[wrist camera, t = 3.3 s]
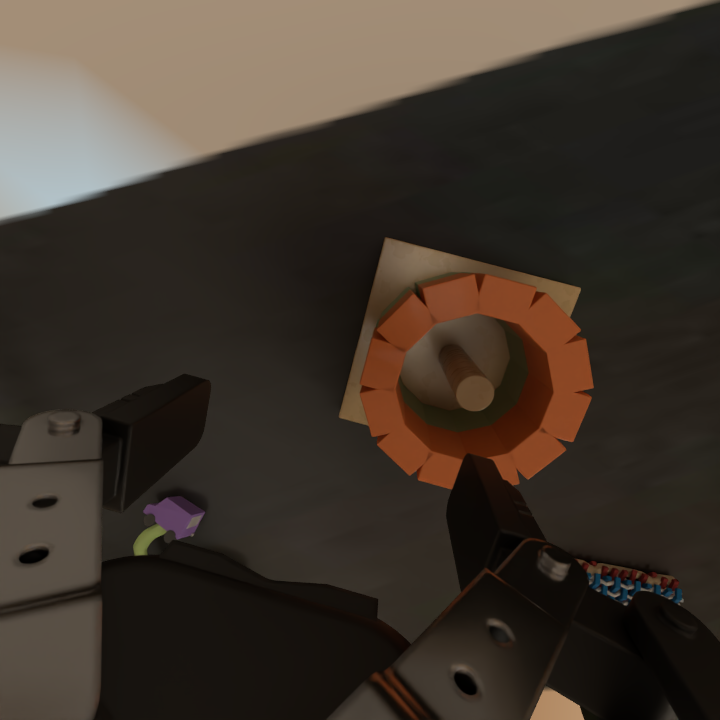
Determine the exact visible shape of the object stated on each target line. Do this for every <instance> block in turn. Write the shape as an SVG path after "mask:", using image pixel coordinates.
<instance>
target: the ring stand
mask: <svg viewBox="0 0 720 720" xmlns="http://www.w3.org/2000/svg"><path fill="white" fill-rule="evenodd" d="M450 272H456V273H460V272H468V273H482V274H489V275H493V276H497V277H501V278H505V279H508V280H512V281H516V282H520V283H524V284H528V285H531V286H535V287H537V290H536V291H538V292H544V293H547V294H548V295H549V296H550V297H551V298H552V299H553V300H554V301H555V302H556V303H557V304H558V306H559V307H560V308H561V309H562V310H563V311H564V312H565V313H566V314H567V315H568V316H569V317H570V316H571V313H572V311H573V308H574V306H575V303H576V301H577V298H578V296H579V293H580V291H581V288H579V287H575V286H572V285H568V284H564V283H560V282H556V281H552V280H549V279H545V278H541V277H537V276H533V275H529V274H526V273H522V272H518V271H514V270H510V269H506V268H503V267H499V266H495V265H491V264H487V263H483V262H480V261H476V260H472V259H468V258H464V257H460V256H457V255H453V254H449V253H445V252H441V251H437V250H434V249H430V248H426V247H422V246H418V245H414V244H411V243H407V242H403V241H399V240H395V239H391V238H388V237H385V239H384V243H383V247H382V251H381V255H380V258H379V262H378V266H377V270H376V274H375V278H374V282H373V286H372V289H371V293H370V297H369V301H368V305H367V309H366V313H365V317H364V320H363V324H362V328H361V332H360V336H359V340H358V344H357V348H356V351H355V355H354V359H353V363H352V367H351V371H350V375H349V379H348V382H347V386H346V390H345V394H344V398H343V402H342V406H341V410H340V413H339V418H343V419H346V420H350V421H354V422H357V423H361V424H364V425H368V421H367V418H366V415H365V411H364V408H363V404H362V401H361V397H360V390H361V387H362V385H360V379H361V375H362V372H363V368H364V364H365V360H366V357H367V353H368V349H369V345H370V342H371V338H372V335H373V332H374V329H375V326H376V323H377V320H378V319H380V318H381V314H382V312H383V311H384V310H385V309H386V308H387V307H388V306H389V305H390V304H391V303H392V302H393V301H394V300H395V299H396V298H397V297H398V296H399V295H400V294H401V293H402V292H403V291H404V290H405V289H406V288H407V287H410V288H411V289H412V290H413V291H414V292H415V293H416V294H417V291H416V287H415V282H417V281H421V280H425V279H428V278H432V277H435V276H439V275H443V274H446V273H450ZM509 360H510V354H509V349H508V344H507V339H506V334H505V330H504V329H503V328H502V327H501V325H500V324H499V323H498V322H497V321H496V320H495V319H494V318H493V317H489V316H485V315H482V314H478V313H477V314H473V315H469V316H465V317H462V318H458V319H454V320H450V321H446V322H442V323H438V324H436V325H435V326H434V327H433V328H432V329H430V330H429V331H428V332H427V333H426V334H425V335H424V336H423V337H422V338H421V339H420V340H419V341H418V342H417V343H416V344H415V345H414V346H413V347H412V348H410V349H409V350H408V351H407V352H406V355H405V359H404V362H403V366H402V369H401V372H400V376H401V379H402V383H403V385H404V386H405V387H406V388H407V389H408V390H409V391H410V392H412V393H413V394H414V395H415V396H416V397H417V398H418V399H419V400H420V401H421V402H422V403H423V404H427V405H431V406H434V407H438V408H442V409H446V410H449V411H451V410H455V409H459V408H464V409H466V410H469V411H480V410H482V409H484V408H486V407H487V406H488V405H489V404H490V403H491V402H492V400H493V397H494V390H495V389H497V388H498V387H499V386H500V385H501V382H502V379H503V376H504V374H505V371H506V368H507V365H508V363H509ZM368 426H369V425H368Z"/></svg>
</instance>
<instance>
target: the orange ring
mask: <svg viewBox="0 0 720 720" xmlns="http://www.w3.org/2000/svg"><path fill="white" fill-rule="evenodd" d="M418 288H419V292H420V297H421V299H420V298H419V297H418V296H417V295H416V294H415V293H414V292H413V291H412V290H409V291H408V292H407V293H406V294H405V295H404V296H403V297H402V298H401V299H400V300H399V301H398V302H397V303H396V304H395V305H394V306H393V307H392V308H391V309H390V310H389V311H388V312H387V313H386V314H385V315H384V316H383V317H382V318H381V319H380V321H379V324H378V327H375V329H374V332H373V335H372V338H371V342H370V345H369V349H368V353H367V357H366V360H365V364H364V368H363V372H362V375H361V379H360V385H362V387H361V390H360V397H361V401H362V404H363V408H364V411H365V415H366V418H367V421H368V425H369V428H370V432H371V435H372V437H375V436H378V438H377V445H378V446H379V447H380V448H381V449H382V450H383V451H384V452H385V453H386V454H387V455H388V456H389V457H390V458H391V459H392V460H394V461H395V462H396V463H397V464H398V465H399V466H400V467H401V468H402V469H403V470H404V471H405V472H406V473H407V474H408V475H411V474H412V473H414V472H415V471H416V470H417V478H418V480H420V481H423V482H427V483H431V484H434V485H438V486H441V487H445V488H449V489H452V488H453V486H454V483H455V480H456V477H457V474H458V472H459V469H460V466H461V463H462V461H463V458H464V457H465V455H466V454H467V453H470V454H474V455H478V456H481V457H485V458H488V459H492V460H493V461H494V462H495V464H496V466H497V468H498V470H499V472H500V474H501V476H502V478H503V479H504V480H507V481H509V482H510V483H511V484H512V485H516V484H519V479H518V474H517V470H518V471H519V472H520V473H521V474H522V475H523V476H524V477H525V478H526V479H529V478H531V477H532V476H533V475H535V474H536V473H537V472H539V471H540V470H541V469H542V468H544V467H545V466H546V465H548V464H549V463H550V462H551V461H553V460H554V459H555V458H557V457H558V456H559V455H561V454H562V453H563V452H564V451H566V448H565V447H564V446H563V445H562V444H561V443H560V442H559V441H558V440H557V438H559V439H562V440H566V441H570V442H573V441H574V438H575V436H576V434H577V431H578V429H579V427H580V424H581V422H582V420H583V417H584V415H585V413H586V411H587V408H588V406H589V404H590V401H591V399H592V397H591V396H589V395H588V394H586V393H585V392H583V391H582V390H587V389H591V388H594V387H593V381H592V374H591V368H590V362H589V356H588V349H587V343H586V339H584V338H582V337H579V336H576V334H577V333H578V332H580V331H581V330H580V328H579V327H578V326H577V325H576V324H575V323H574V322H573V321H572V319H571V318H570V317H569V316H568V315H567V314H566V313H565V312H564V311H563V310H562V309H561V308H560V307H559V306H558V304H557V303H556V302H555V301H554V300H553V299H552V298H551V297H550V296H549V295H548V294H547V293H544V292H538V291H536V290H537V287H535V286H531V285H528V284H524V283H520V282H516V281H512V280H508V279H505V278H501V277H497V276H493V275H489V274H482V273H470V274H468V273H458V274H455V275H451V276H447V277H444V278H440V279H437V280H433V281H429V282H426V283H422V284H419V285H418ZM477 313H478V314H482V315H485V316H489V317H493V318H497V319H501V320H504V321H505V322H506V323H507V324H508V325H509V326H510V327H511V328H512V330H513V331H514V332H515V333H516V334H517V335H518V336H519V337H520V338H521V339H522V341H523V346H524V351H525V357H526V362H527V367H528V372H529V373H528V376H527V378H526V381H525V384H524V386H523V389H522V392H521V394H520V397H519V399H518V402H517V404H516V405H515V406H514V407H512V408H511V409H510V410H509V411H508V412H506V413H505V414H504V415H503V416H502V417H500V418H499V419H498V420H497V421H496V422H494V423H493V424H492V425H489V426H485V427H480V428H476V429H471V430H466V431H462V432H454V431H451V430H447V429H443V428H440V427H436V426H432V425H429V424H426V423H425V422H424V421H423V420H422V419H421V418H420V417H419V416H418V415H417V414H416V413H415V412H414V411H413V410H412V409H411V408H410V407H409V406H408V405H407V404H406V403H405V402H404V401H403V397H402V393H401V389H400V386H399V382H398V379H399V376H400V372H401V369H402V366H403V362H404V359H405V355H406V352H407V351H408V350H409V349H410V348H412V347H413V346H414V345H415V344H416V343H417V342H418V341H419V340H420V339H421V338H422V337H423V336H424V335H425V334H426V333H427V332H428V331H429V330H430V329H432V328H433V327H434V326H435V325H436V324H438V323H442V322H446V321H450V320H454V319H458V318H462V317H465V316H469V315H473V314H477ZM516 469H517V470H516Z"/></svg>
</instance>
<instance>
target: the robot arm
mask: <svg viewBox="0 0 720 720" xmlns="http://www.w3.org/2000/svg"><path fill="white" fill-rule="evenodd" d="M210 392H211V383H210V381H209V380H206V379H202V378H199V377H195V376H191V375H188V374H183V375H181V376H179V377H177V378H175V379H173V380H171V381H169V382H167V383H165V384H158V385H153V386H148V387H144V388H142V389H140V390H138V391H136V392H134V393H132V395H130V394H129V395H127V396H125V397H123V398H122V399H121V400H117V401H115V402H113V403H111V404H108V405H106V406H104V407H102V408H100V409H98V410H96V411H94V412H92V413H91V412H87V411H82V410H72V409H63V410H52V411H47V412H42V413H39V414H36V415H34V416H31V417H30V418H28V419H27V420H26V421H25V422H24V423H23V425H22V426H15V425H5V424H0V720H530V718H531V716H532V713H533V711H534V709H535V707H536V704H537V703H538V700H539V698H540V696H541V694H542V691H543V689H544V687H545V685H546V686H548V687H550V688H551V689H553V690H555V691H556V692H558V693H560V694H561V695H563V696H565V697H566V698H568V699H570V700H571V701H573V702H575V703H576V704H578V705H580V708H581V711H582V714H583V717H584V720H720V642H719V641H718V640H717V638H716V637H715V636H714V635H713V633H712V632H711V631H710V630H709V629H708V628H707V627H706V626H705V625H704V624H703V623H702V622H701V621H700V620H699V619H697V618H696V617H695V616H694V615H693V614H691V613H690V612H689V611H687V610H686V609H684V608H683V607H681V606H680V605H678V604H677V603H675V602H673V601H671V600H670V599H668V598H666V597H664V596H661V595H659V594H656V593H653V592H650V591H637V592H636V593H635V594H634V595H633V597H632V599H631V601H630V603H629V605H628V606H626V605H624V604H622V603H620V602H618V601H616V600H614V599H612V598H610V597H608V596H606V595H604V594H602V593H600V592H598V591H596V590H594V589H592V588H590V587H589V577H588V575H587V573H586V571H585V570H584V568H583V567H582V566H581V565H580V564H579V562H578V561H577V560H575V559H574V558H573V557H572V556H571V555H569V554H568V553H567V552H565V551H564V550H562V549H561V548H559V547H557V546H555V545H553V544H551V543H549V542H547V541H546V539H545V537H544V535H543V534H542V532H541V530H540V528H539V526H538V524H537V523H536V521H535V519H534V517H532V513H531V512H530V510H529V508H528V507H527V506H526V503H525V501H524V499H523V497H522V495H521V493H520V492H519V491H518V490H517V489H516V488H515V487H514V486H513V485H512V484H511V483H510V482H509V481H507V480H504V479H503V478H502V476H501V474H500V472H499V470H498V468H497V466H496V464H495V462H494V461H493V460H492V459H488V458H485V457H481V456H478V455H474V454H470V453H467V454H466V455H465V457H464V458H463V461H462V463H461V466H460V469H459V472H458V474H457V477H456V480H455V483H454V486H453V488H452V491H451V494H450V497H449V500H448V504H447V512H446V518H447V524H448V529H449V534H450V539H451V544H452V549H453V554H454V559H455V564H456V569H457V574H458V579H459V584H460V589H461V593H460V594H459V595H458V596H457V597H456V598H455V599H454V601H453V602H452V603H451V604H450V605H449V606H448V607H447V608H446V609H445V610H444V611H443V612H442V613H441V614H440V615H439V616H438V617H437V618H436V619H435V620H434V621H433V622H432V623H431V624H430V626H429V627H428V628H427V629H426V630H425V631H424V632H423V633H422V634H421V635H420V636H419V637H418V638H417V639H416V640H415V641H414V642H413V643H412V644H410V643H409V642H408V641H407V640H406V639H405V638H404V637H403V636H402V635H401V634H399V633H398V632H397V631H396V630H395V629H393V628H392V627H390V626H389V625H387V624H386V623H385V622H383V621H381V620H379V619H378V618H377V610H378V599H376V598H373V597H369V596H366V595H362V594H359V593H356V592H352V591H349V590H345V589H342V588H338V587H335V586H331V585H328V584H316V583H301V582H286V581H274V580H269V579H267V578H265V577H263V576H261V575H259V574H258V573H256V572H254V571H252V570H251V569H249V568H247V567H245V566H243V565H242V564H240V563H238V562H236V561H234V560H233V559H231V558H229V557H227V556H226V555H224V554H221V553H218V552H214V551H211V550H207V549H204V548H201V547H197V546H194V545H190V544H187V543H183V542H180V541H176V540H172V541H171V542H170V544H169V545H168V546H167V547H166V548H165V550H164V551H163V552H162V553H161V555H137V556H128V557H122V558H117V559H111V560H108V561H104V562H101V552H102V508H104V509H108V510H111V511H115V512H118V513H122V512H123V511H124V510H126V509H127V508H128V507H129V506H130V505H131V504H132V503H133V502H134V501H136V500H137V499H138V498H139V497H140V496H141V495H142V494H143V493H145V492H146V491H147V490H148V489H149V488H150V487H151V486H152V485H153V484H155V483H156V482H157V481H158V480H159V479H160V478H161V477H162V476H164V475H165V474H166V473H167V472H168V471H169V470H170V469H171V468H172V467H174V466H175V465H176V464H177V463H178V462H179V461H180V460H181V459H183V458H184V457H185V456H186V455H187V454H188V453H189V452H190V451H191V450H193V449H194V448H195V447H196V446H197V444H198V443H199V441H200V439H201V437H202V434H203V431H204V427H205V422H206V416H207V410H208V404H209V398H210Z"/></svg>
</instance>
